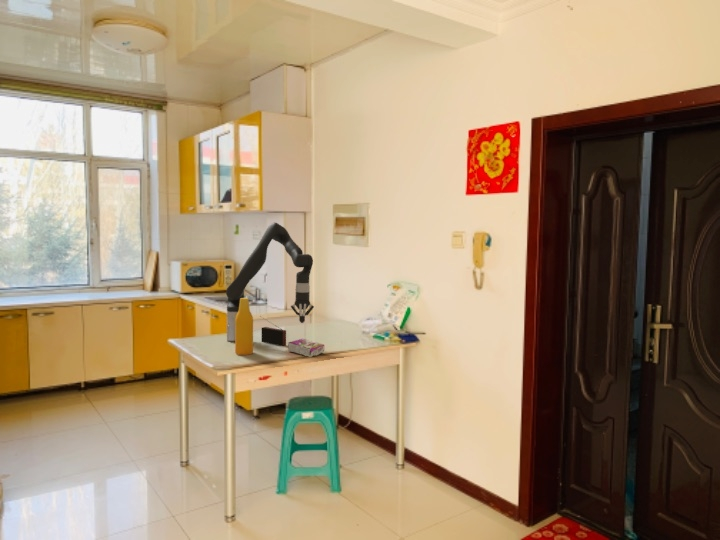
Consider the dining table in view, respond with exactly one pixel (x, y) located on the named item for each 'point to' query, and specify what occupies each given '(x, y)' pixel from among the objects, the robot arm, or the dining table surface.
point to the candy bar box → (306, 347)
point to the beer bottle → (244, 329)
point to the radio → (274, 335)
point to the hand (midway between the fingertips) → (302, 322)
